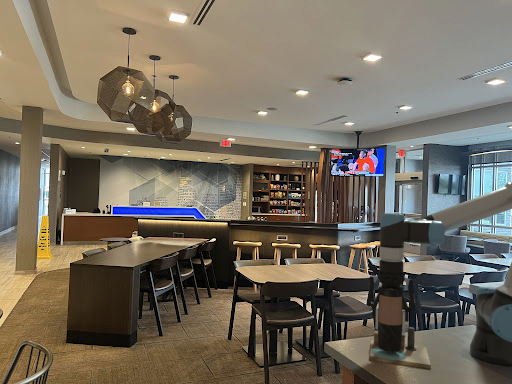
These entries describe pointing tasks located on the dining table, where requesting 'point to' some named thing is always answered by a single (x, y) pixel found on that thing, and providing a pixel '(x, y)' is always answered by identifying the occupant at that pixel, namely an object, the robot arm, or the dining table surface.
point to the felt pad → (389, 354)
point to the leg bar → (401, 340)
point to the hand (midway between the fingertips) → (389, 329)
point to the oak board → (414, 353)
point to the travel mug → (390, 319)
